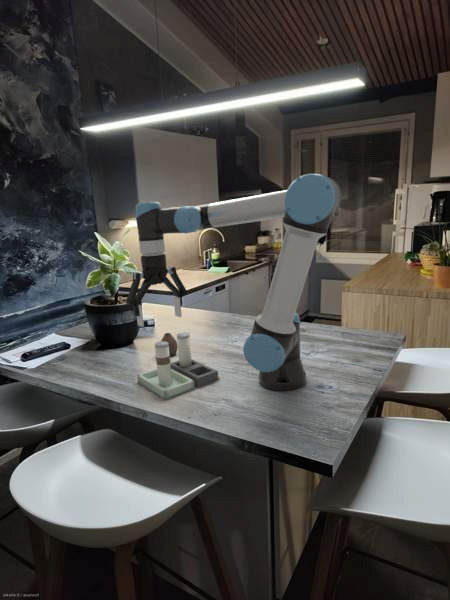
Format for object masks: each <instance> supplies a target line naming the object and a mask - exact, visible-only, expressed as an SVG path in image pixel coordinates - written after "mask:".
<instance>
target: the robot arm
mask: <svg viewBox="0 0 450 600" xmlns="http://www.w3.org/2000/svg"><path fill="white" fill-rule="evenodd" d="M342 195H343V194H342V190H341V188H340V185H339V184H338V183H337V181H336V180H334V179H333V178H331V177H330V176H329V177H328V176H326V175H324V174H322V173H321V174H320V173H314V172H311V173H306V174H303V175H300V176H299V177H297V178H296V179H294V180H293V181H292V182H291V183H290V185H289V186H288V188H287V189H285V190H281V191H279V190H278V191H273V192H269V193H262V194H257V195H252V196H247V197H240V198H234V199H228V200H223V201H222V200H221V201H217V202H212V203H206V204H201V205H194V206H193V205H192V206H191V205H190V206H189V205H182V206H174V207H162V206H161V203H160V202H158V201H147V202H145V201H144V202H139V203H138V202H137V204H136V205H135V222H136V226H137V227H136V228H137V235H138V243H139V244H138V245H139V253H140V254H141V257H140V263H141V268H142V271H141V272H135V271H134V272H133V273H132V283H131V285H130V289H129V292H128V294H127V298H126V301H125V302H126V305H129V306H132V311H133V315H134V317H136V321H137V326H138V327H141V328H143V327H145V324H144V317H143V316H144V315H143V307H142V305H140V304H141V302H142V300H143V299H144V297H145V295H146V293H147V291H148V289H150V288H151V286H156V285H162V284H164V286H166V287H167V288H168V289H169V290H170V291H171V292H172V293H173V294H174V295H173V306H174V316H175V317H178V318H181V317H183V315H182V306H183V297H184V295H185V294H187V293H188V291H187V289H186V287H185V285H184V284H183V282H182V280H181V278H180V277H179V275H178V273H177V269H176V267H175V266H169V267H167V257H166V254H165V252H166V247H165V246H166V245H165V238H164V237H165V236H164V235H167V234H191V233H196V232H197V231H202V230H208V229H213V228H214V229H215V228H219V227H220V228H221V227H227V226H235V225H241V224H242V225H243V224H247V223H248V224H249V223H255V222H262V221H269V220H276V219H282V218H283V219H282V225H283V227H284V228H285V233H284V238H283V239H282V243H281V248H280V250H279V254H278V257H277V262H276V265H275V269H274V271H273V276H272V279H271V283H270V287H269V289H268V293H267V295H266V296H267V297H266V301H265V304H264V307H263V310H262V313H260V314H258V315H256V316H255V318H254V323H253V325H252V329H251V333H250V335H249V336H248V337H247V338H246V340H245V342H244V344H243V348H242V349H243V350H242V352H243V356H244V358H245V359H246V361H247V364H249V365H250V366H251V367H252V368H253V369H255V370H257V371H259V372H258V382H259V385H261V386H262V387H264V388H266V389H268V390H272V391H279V392H281V391H283V392H284V391H294V390H298V389H300V388H302V387H304V386H305V385H306V384H307V375H306V371H305V370H304V369H305V368H304V366H303V362H302V360H301V322H300V315H299V314H298V312H297V308H298V306H299V302H300V299H301V296H302V292H303V290H304V286H305V283H306V280H307V276H308V274H309V271H310V267H311V264H312V261H313V258H314V254H315V251H316V249H317V248H316V247H317V245H318V242H319V240H320V239H321V238H322V237H325V236H326V235H327V233H328V231H329V230H328V229H329V227H330V224H331V221H332V218H333V215H334V214H336V212H338V209H339V208H340V206H341V204H342V199H343V198H342ZM167 275H170V278H171V280H172V281H173V282H174V284H173V283H172V282H171V280H170V279H169V278H168V277H167ZM142 278H143V281H142V283H141V280H142ZM140 283H141V285H140ZM139 287H140V288H139Z"/></svg>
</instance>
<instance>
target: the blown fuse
mask: <svg viewBox="0 0 450 600" xmlns="http://www.w3.org/2000/svg"><path fill="white" fill-rule="evenodd" d="M154 352H155V363H156V369H157V372H158V382H159V385H160V386H169V385H171V384H172V375H171V365H170V363H171V356H170V354H169V344H168V342H166V341H161V340H160V341H157V342H155V343H154Z"/></svg>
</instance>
